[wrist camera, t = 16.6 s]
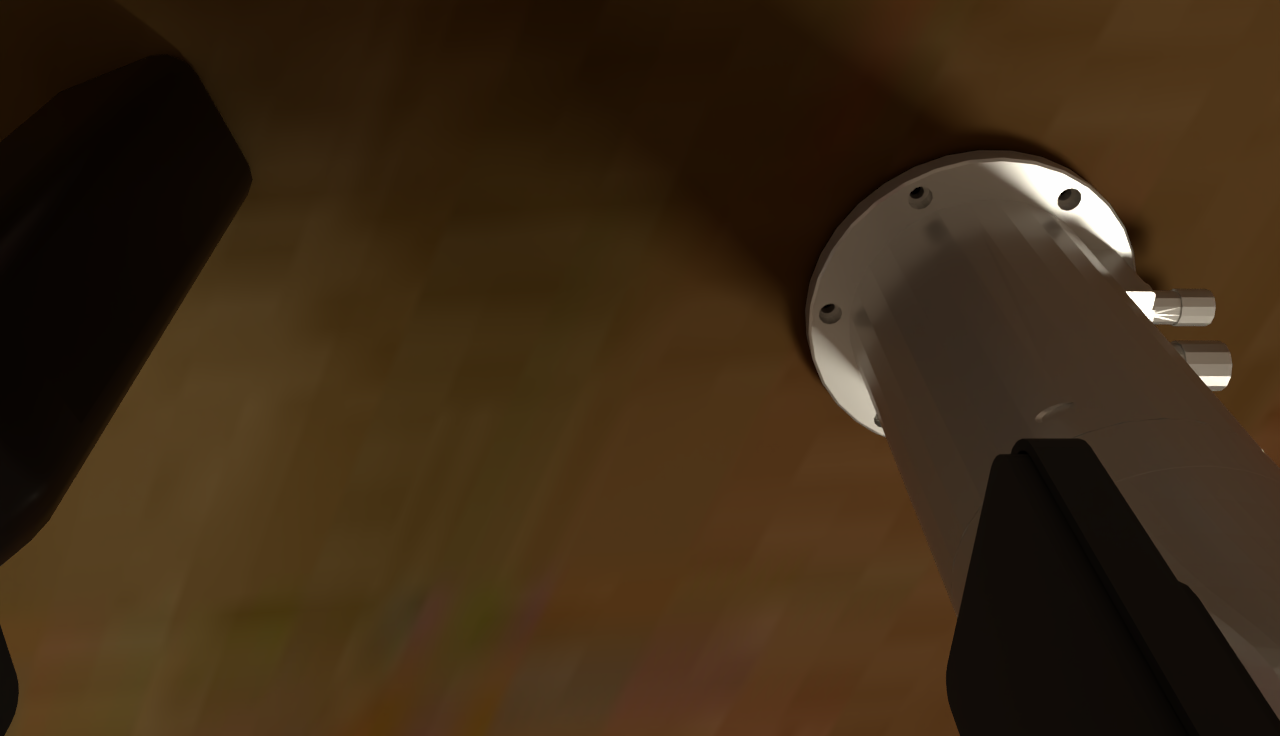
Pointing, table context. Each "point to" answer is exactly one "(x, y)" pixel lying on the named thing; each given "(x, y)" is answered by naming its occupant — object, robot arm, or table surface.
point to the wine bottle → (98, 262)
